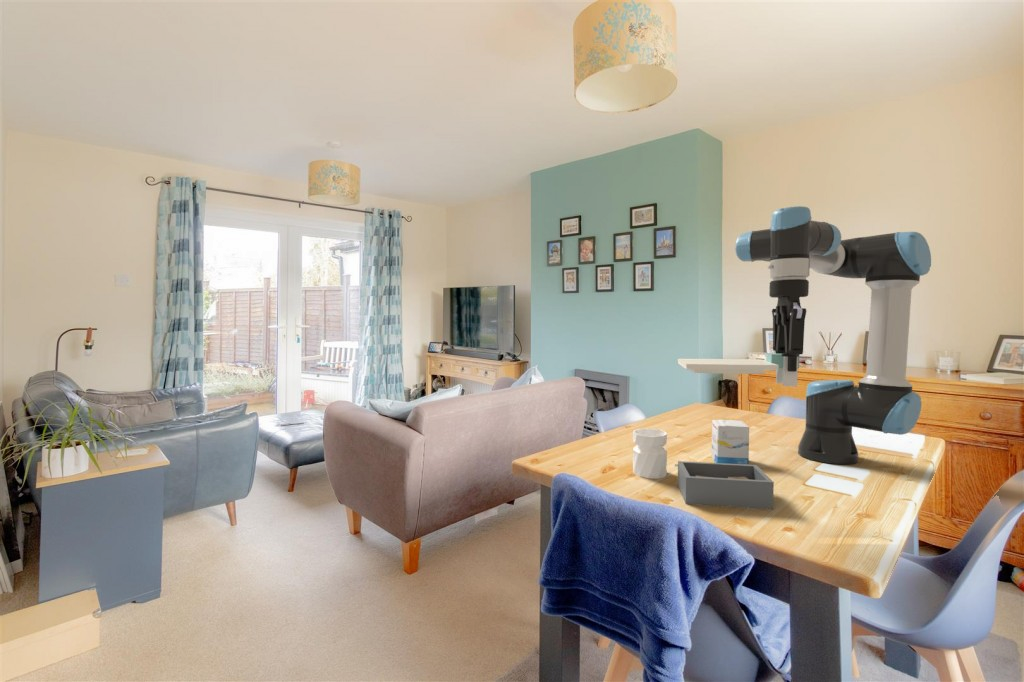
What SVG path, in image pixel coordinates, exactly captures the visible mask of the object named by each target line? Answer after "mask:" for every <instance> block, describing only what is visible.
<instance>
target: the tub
mask: <svg viewBox="0 0 1024 682" xmlns="http://www.w3.org/2000/svg"><path fill="white" fill-rule="evenodd" d="M677 464H678V467H677V486H678V489H679V492H680V494H681V496H682V498H683V501H684V503H685V505H695V506H696V505H697V506H709V507H710V506H711V507H723V508H724V507H725V508H739V509H740V508H742V509H756V510H774V484H775V482H774V481H773V480H772V479H771V478H770V477H769V476H768V475H767V473H765V472H764V471H763V470H762V469H760V467H759V466H758V465H757V464H749V465H747V464H726V463H715V462H706V461H705V462H704V461H703V462H701V461H686V460H685V461H682V460H681V461H680V460H678V461H677ZM696 475H697V476H705V477H696ZM728 477H746V478H747V479H731V478H728Z"/></svg>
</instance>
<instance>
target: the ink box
mask: <svg viewBox="0 0 1024 682" xmlns="http://www.w3.org/2000/svg"><path fill="white" fill-rule="evenodd" d="M711 423H712V424H711V451H710V452H711V453H710V454H711V455H710V456H711V458H712V460H713V461H714V463H726V464H747V465H750V464H749V458H750V456H749V455H750V451H749V450H750V426H748V424H746V423H745V422H744V421H743V420H734V419H733V420H732V419H712V420H711Z"/></svg>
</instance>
